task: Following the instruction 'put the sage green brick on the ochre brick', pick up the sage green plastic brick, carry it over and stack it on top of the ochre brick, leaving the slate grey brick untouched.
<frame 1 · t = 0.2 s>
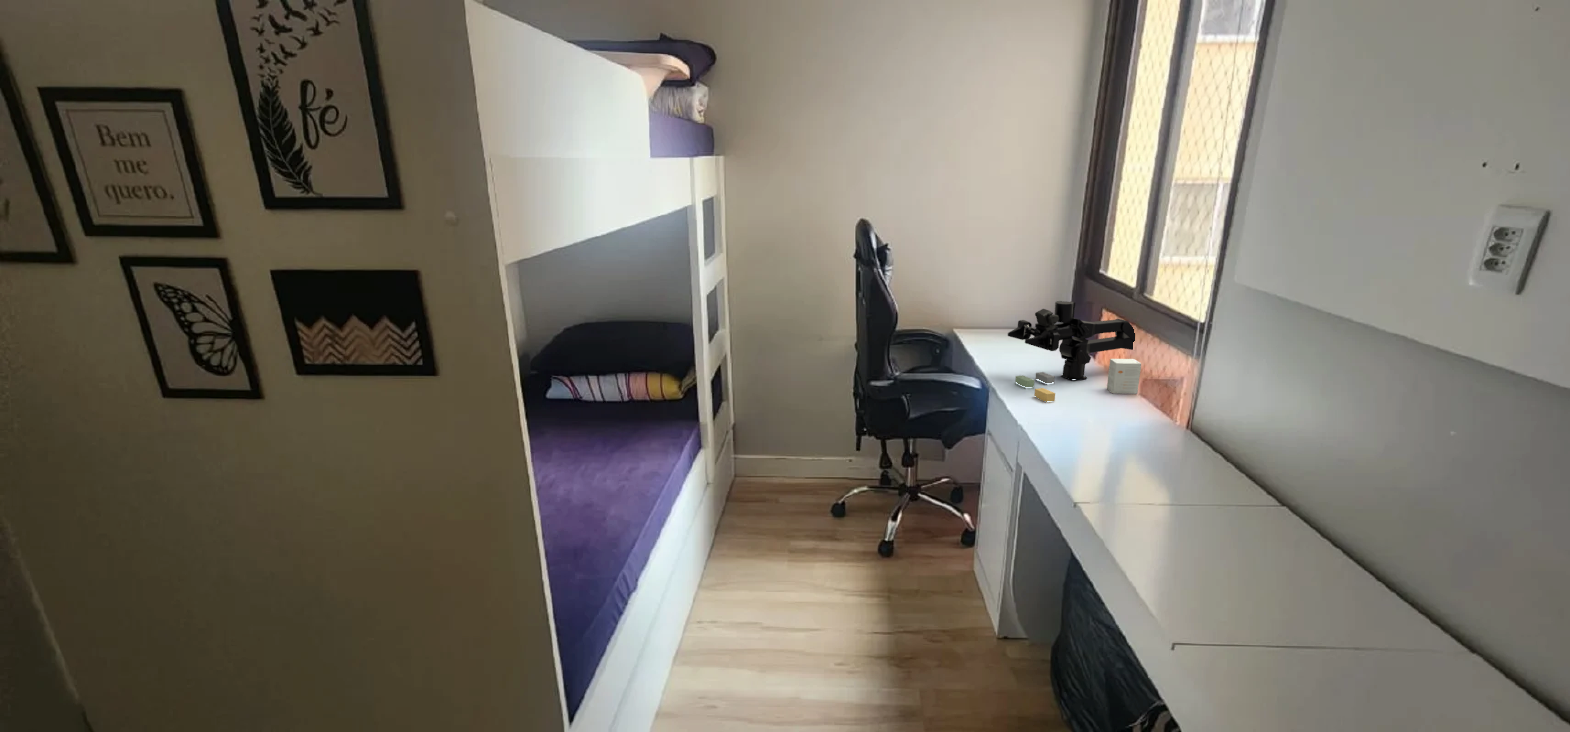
hand: (1016, 338, 226), 17 cm above the table, tool horizontal, fingers open, 9 cm apart
ochre brick: (1044, 399, 216), on the table
slate brick: (1044, 383, 233), on the table
sage brick: (1024, 386, 230), on the table
small box: (1121, 392, 223), on the table
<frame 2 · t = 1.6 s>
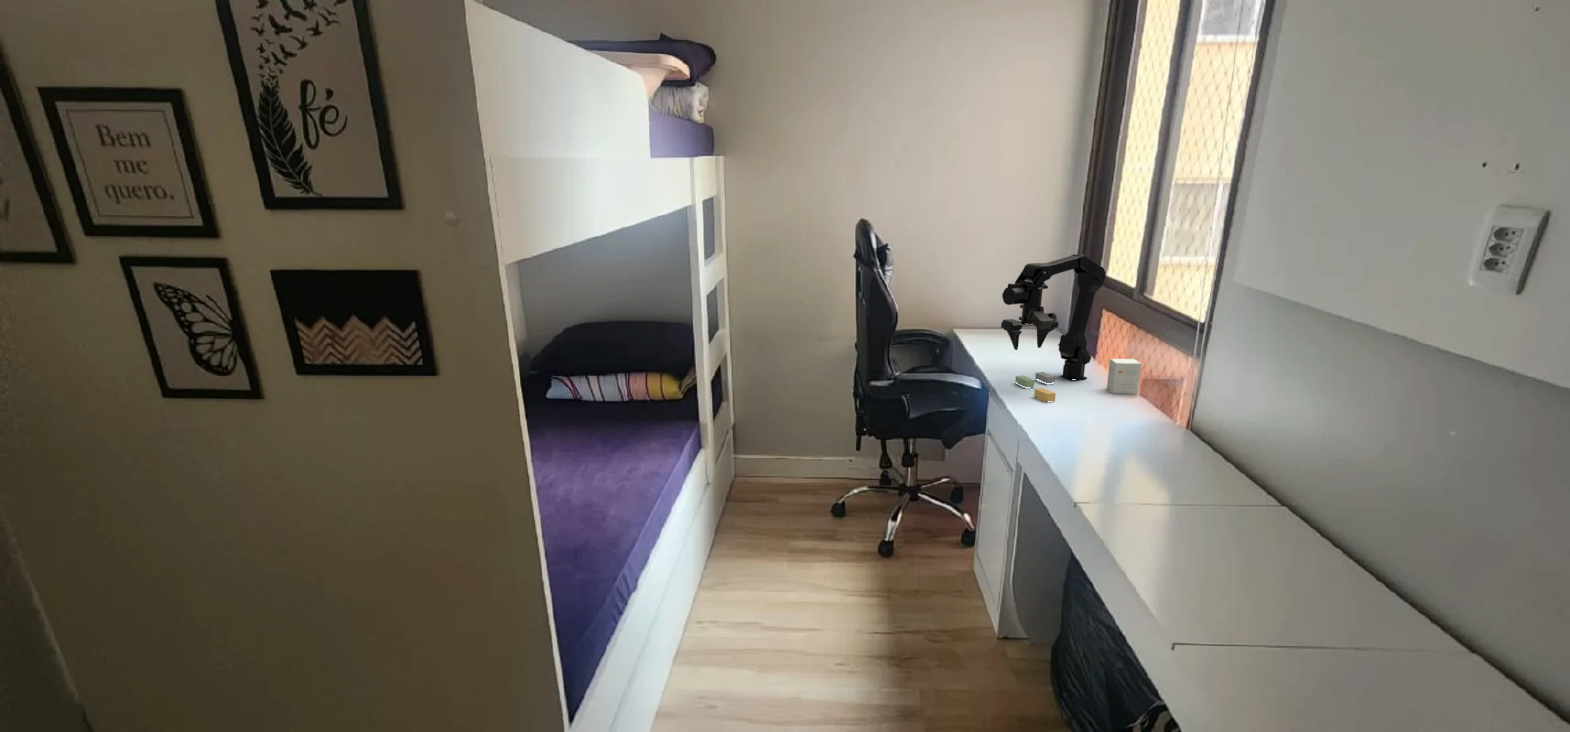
hand: (1027, 348, 226), 13 cm above the table, tool pointing down, fingers open, 9 cm apart
nothing on the table moved.
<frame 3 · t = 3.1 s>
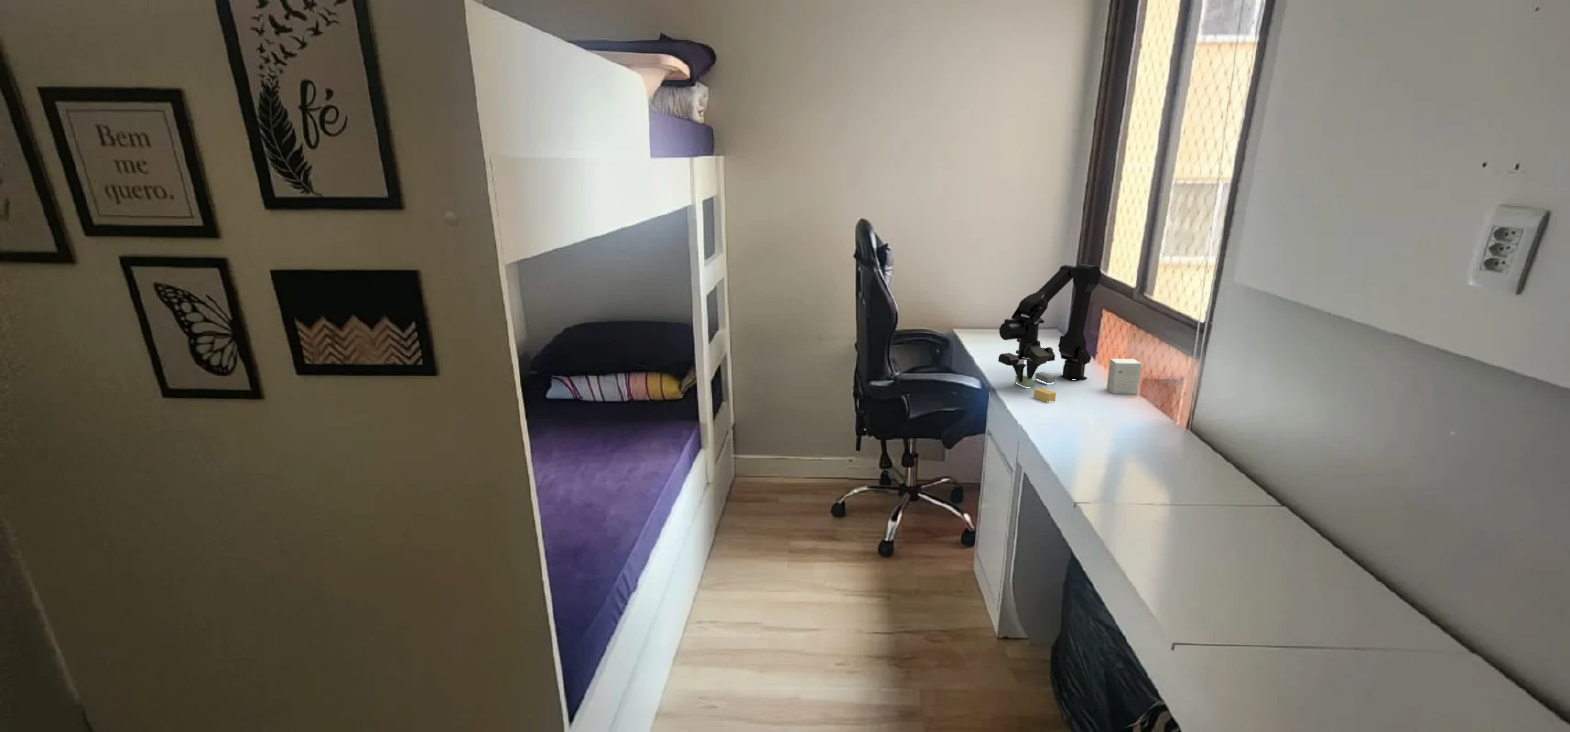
hand: (1024, 381, 229), 2 cm above the table, tool pointing down, fingers closed on sage brick, 3 cm apart
sage brick: (1024, 386, 230), on the table, touching gripper
everything else where it was.
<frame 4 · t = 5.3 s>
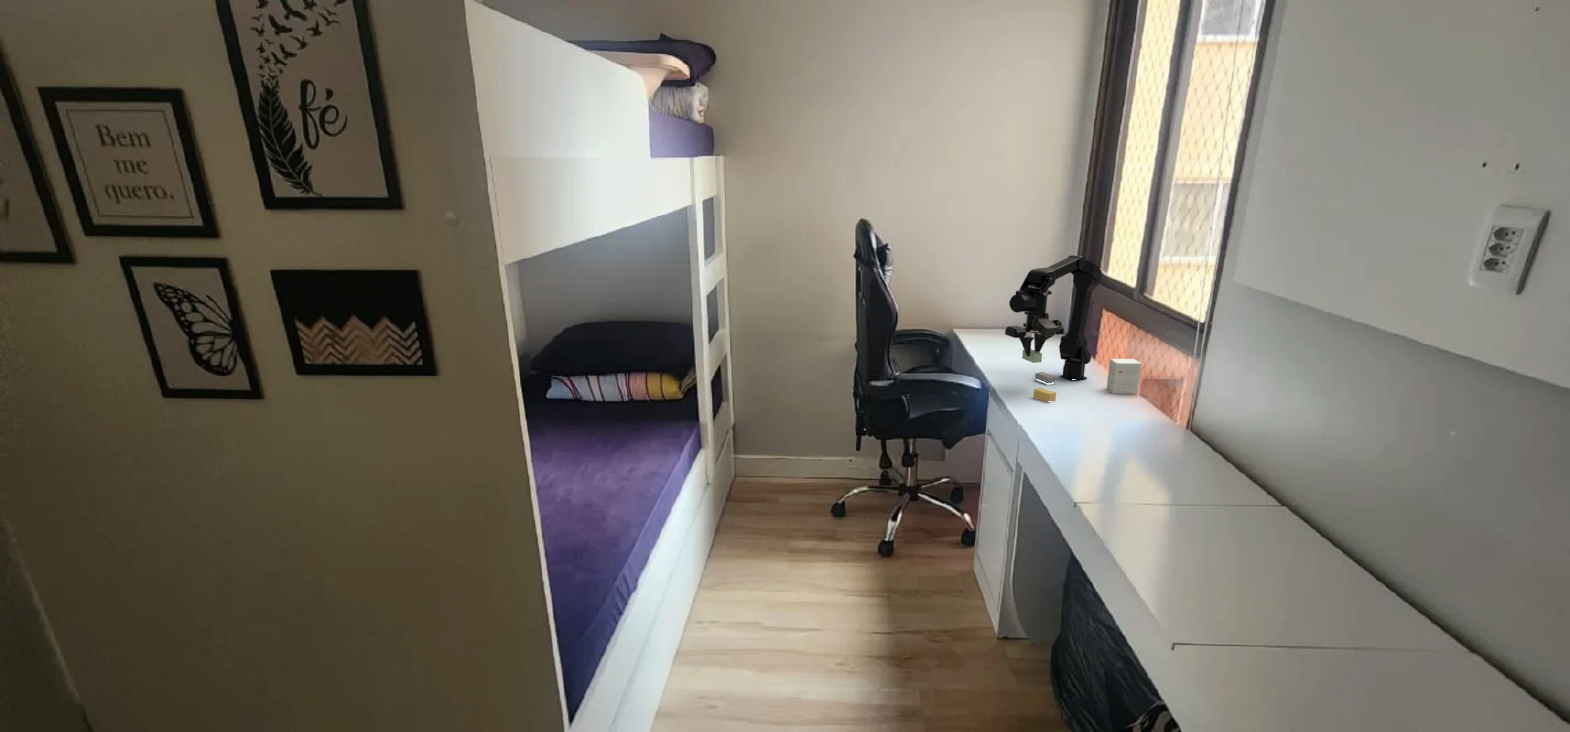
hand: (1032, 355, 223), 12 cm above the table, tool pointing down, fingers closed on sage brick, 3 cm apart
sage brick: (1031, 360, 223), point 10 cm above the table, touching gripper
everything else where it was.
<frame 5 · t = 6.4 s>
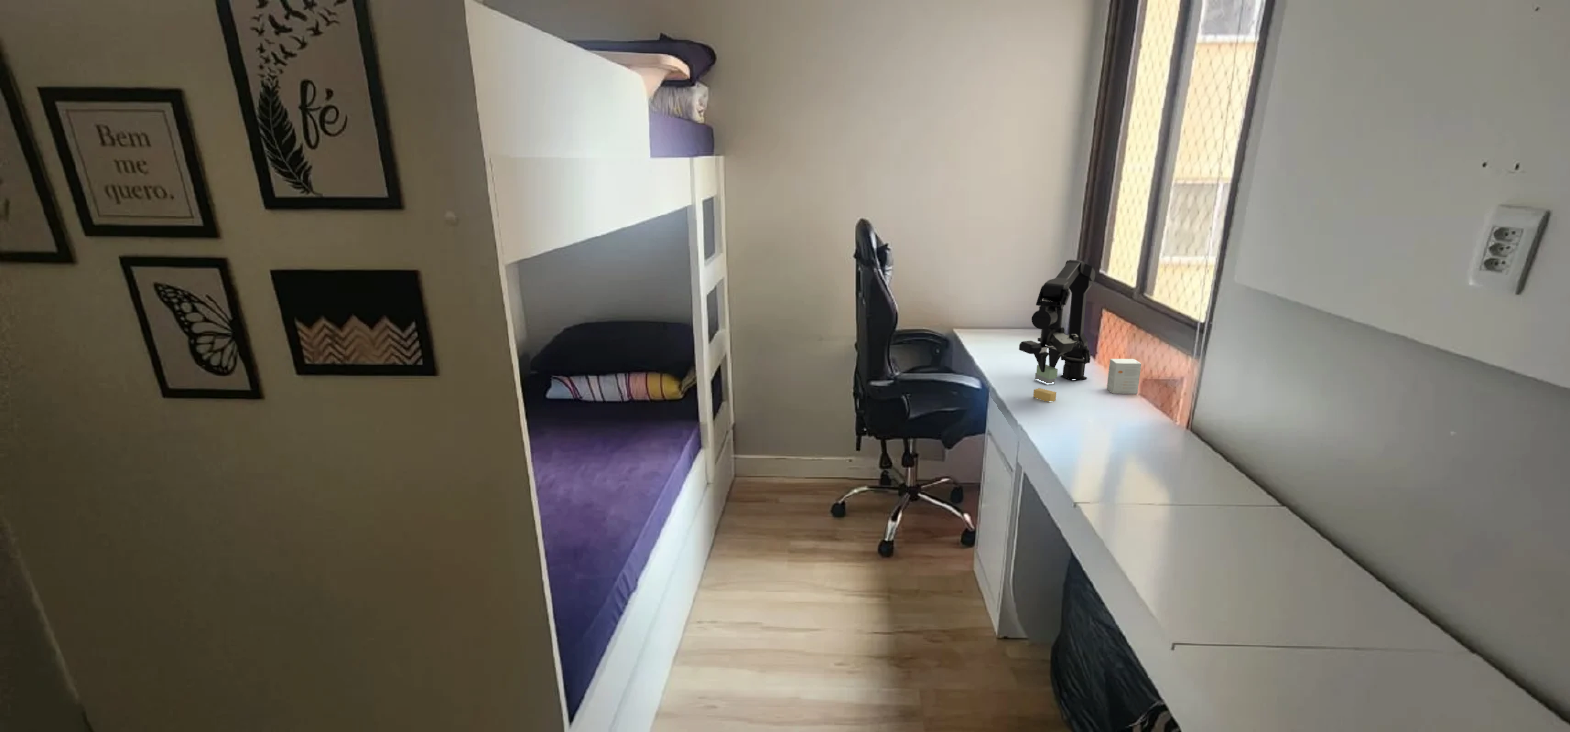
hand: (1047, 371, 214), 9 cm above the table, tool pointing down, fingers closed on sage brick, 3 cm apart
sage brick: (1046, 376, 214), point 8 cm above the table, touching gripper
everything else where it was.
when the fingers open (6 cm above the table, at t = 7.2 s): sage brick drops 1 cm, resting on ochre brick.
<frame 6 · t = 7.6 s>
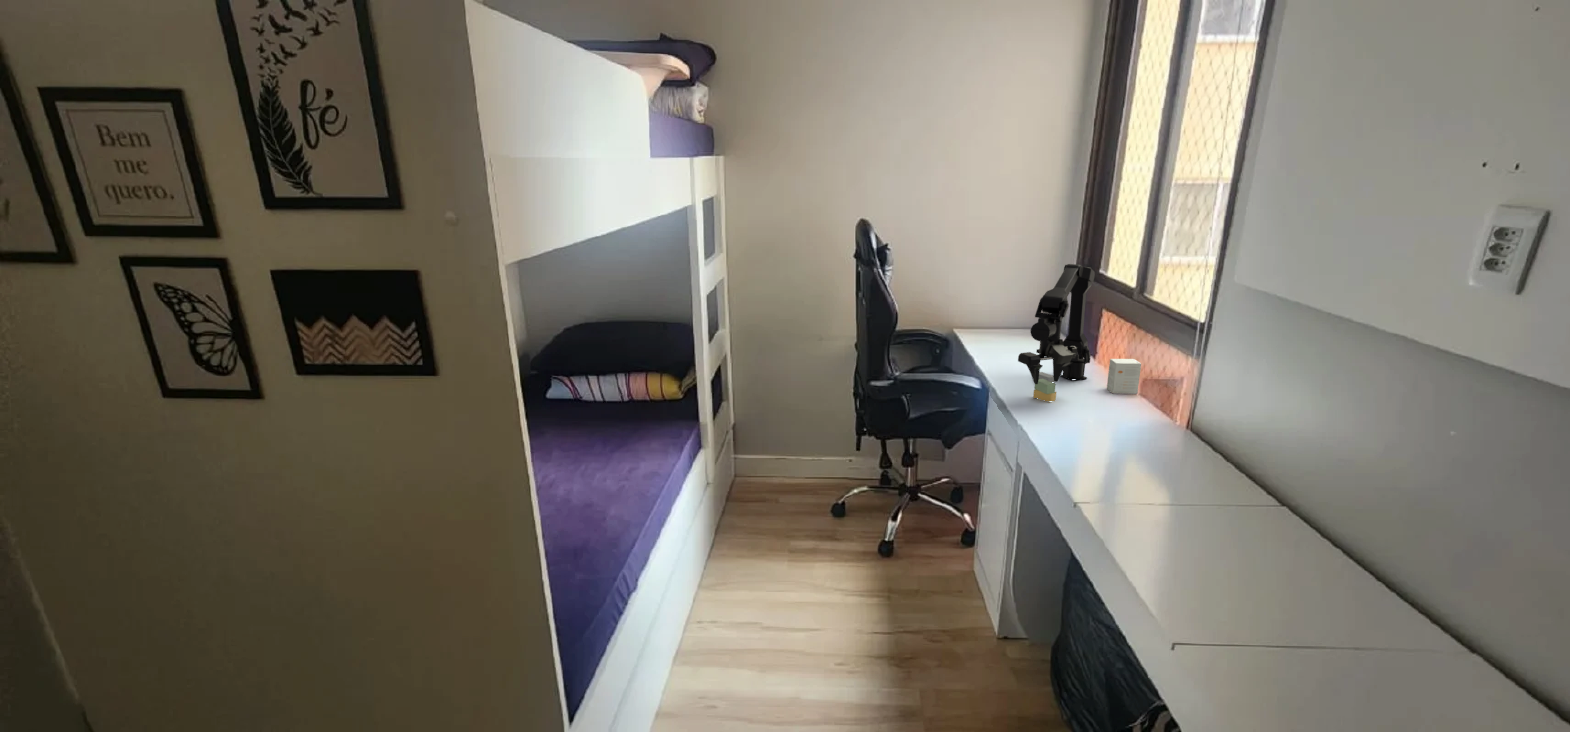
hand: (1045, 382, 215), 5 cm above the table, tool pointing down, fingers open, 7 cm apart
ochre brick: (1044, 399, 216), on the table, touching sage brick
sage brick: (1044, 390, 215), point 3 cm above the table, touching ochre brick
everything else where it was.
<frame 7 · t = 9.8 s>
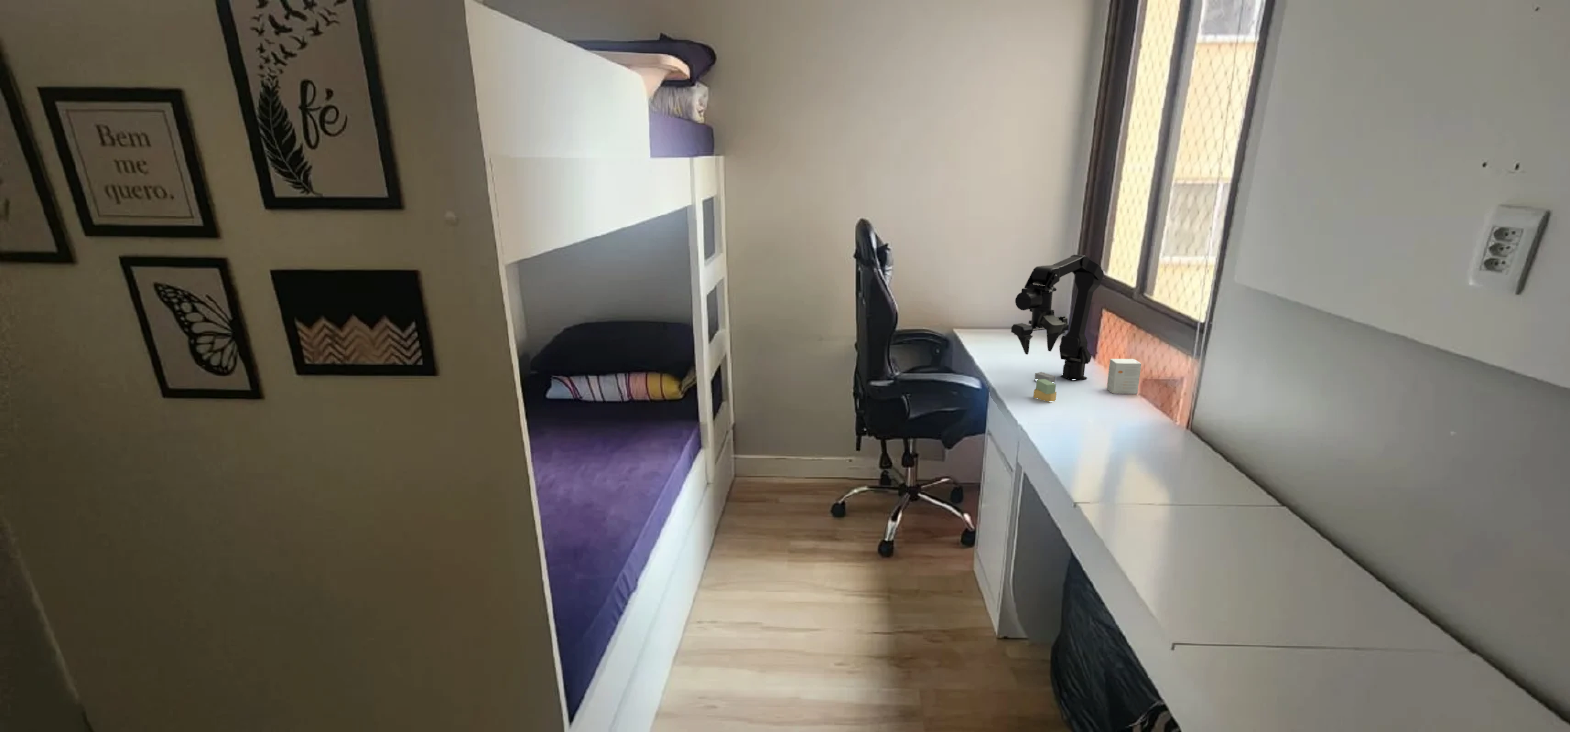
hand: (1038, 352, 223), 13 cm above the table, tool pointing down, fingers open, 9 cm apart
nothing on the table moved.
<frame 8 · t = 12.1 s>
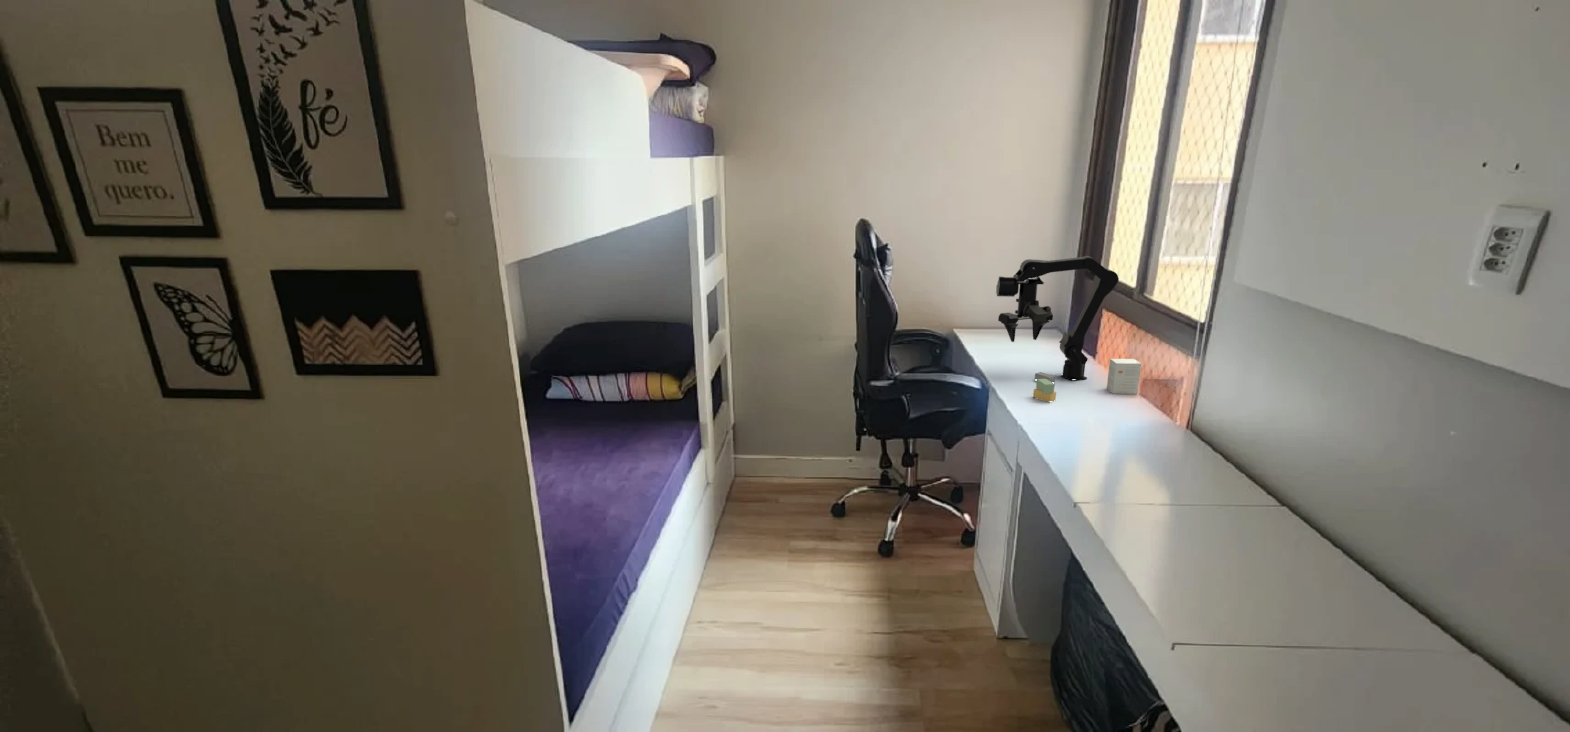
hand: (1023, 340, 237), 13 cm above the table, tool pointing down, fingers open, 9 cm apart
nothing on the table moved.
at the end: sage brick 0.1 cm off-centre on the ochre brick, point 3.0 cm above the ochre brick's base; slate brick moved 0.2 cm from its start; ochre brick moved 0.2 cm from its start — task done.
